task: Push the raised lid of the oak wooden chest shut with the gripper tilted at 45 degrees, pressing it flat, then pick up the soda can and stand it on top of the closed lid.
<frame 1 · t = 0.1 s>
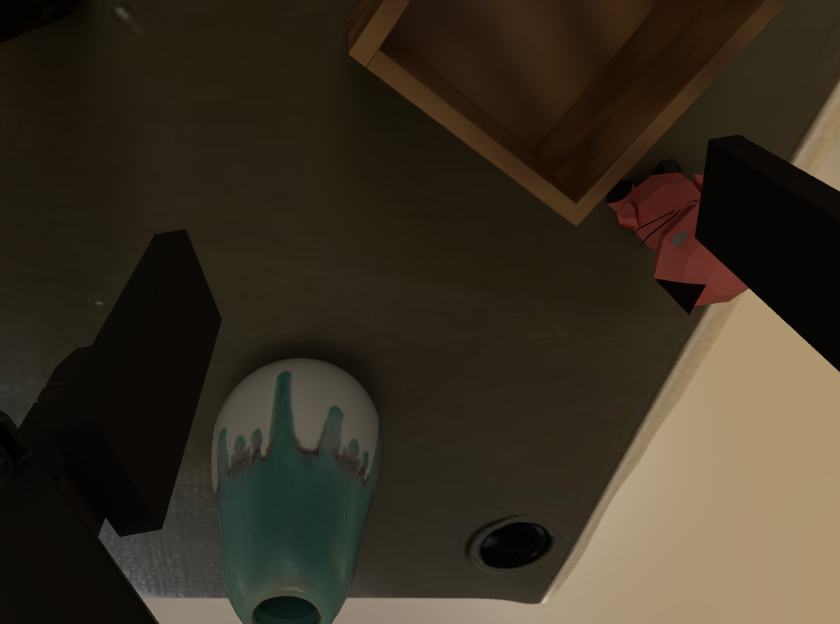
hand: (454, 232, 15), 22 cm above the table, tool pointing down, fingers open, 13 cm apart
vase: (302, 394, 46), on the table
cat figurine: (644, 195, 40), on the table
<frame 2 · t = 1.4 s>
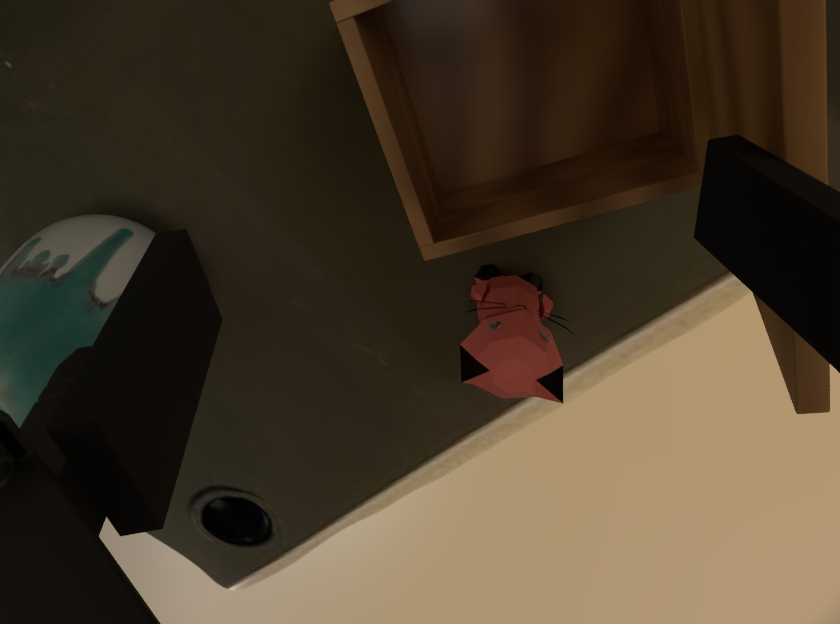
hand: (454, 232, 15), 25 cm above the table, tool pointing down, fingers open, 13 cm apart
vase: (137, 266, 47), on the table
chest lid: (741, 87, 20), point 18 cm above the table, hinge at 79.9°, touching gripper
cat figurine: (506, 290, 45), on the table
chest: (522, 67, 36), on the table
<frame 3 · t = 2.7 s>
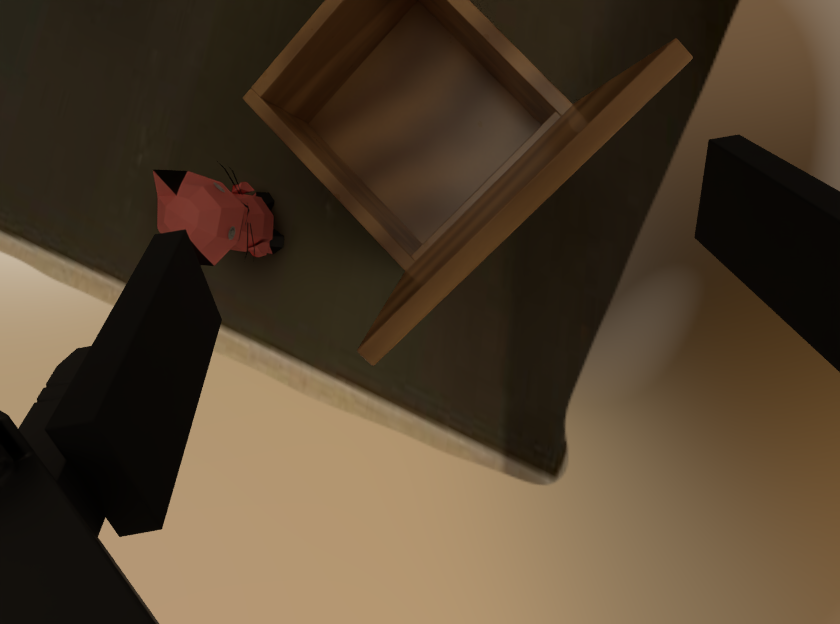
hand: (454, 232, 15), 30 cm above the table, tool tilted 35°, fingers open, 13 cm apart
chest lid: (498, 202, 27), point 18 cm above the table, hinge at 100.3°
cat figurine: (258, 225, 48), on the table
chest: (428, 132, 45), on the table
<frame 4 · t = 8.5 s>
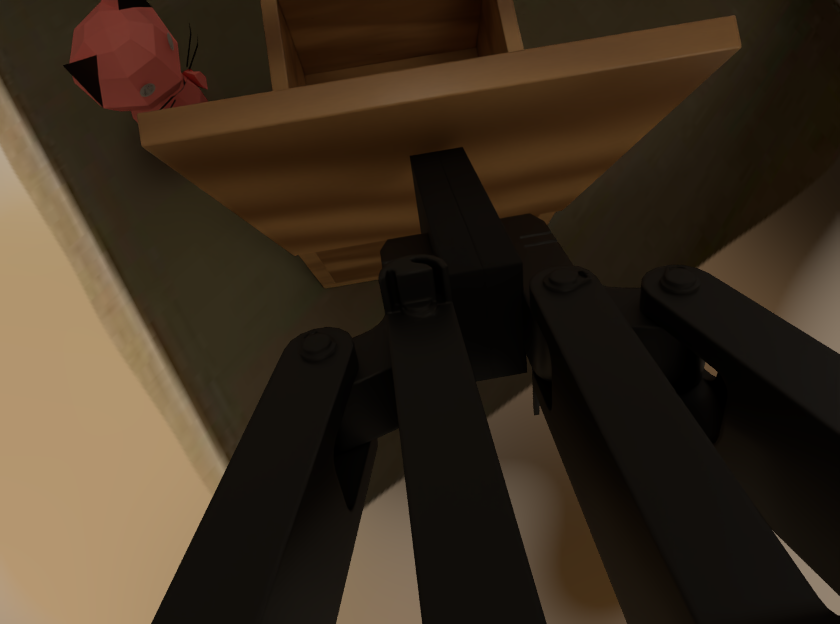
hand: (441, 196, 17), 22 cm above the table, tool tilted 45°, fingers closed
chest lid: (431, 180, 22), point 18 cm above the table, hinge at 97.5°
cat figurine: (186, 131, 42), on the table
chest: (408, 160, 41), on the table
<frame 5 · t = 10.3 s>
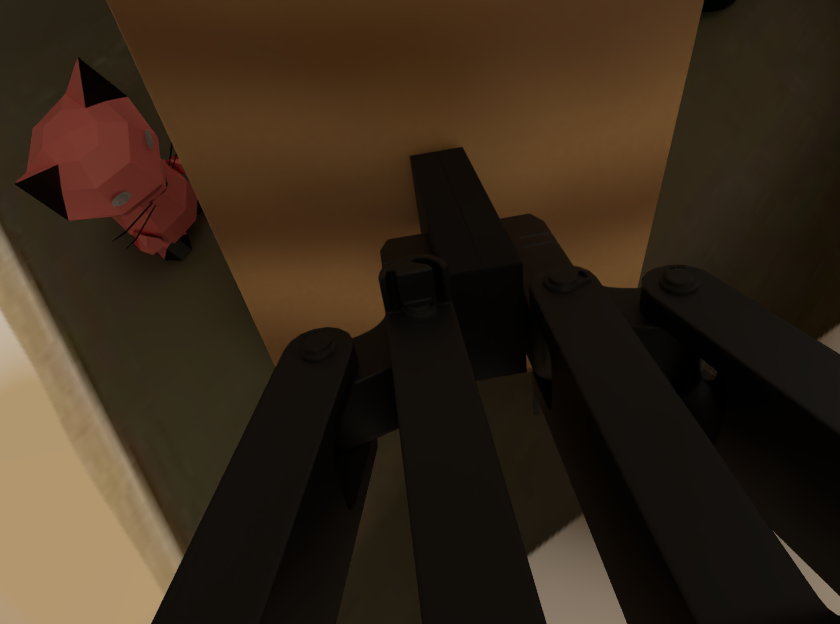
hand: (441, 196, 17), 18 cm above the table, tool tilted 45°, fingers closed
chest lid: (442, 214, 19), point 16 cm above the table, hinge at 57.3°, touching gripper
cat figurine: (172, 218, 36), on the table
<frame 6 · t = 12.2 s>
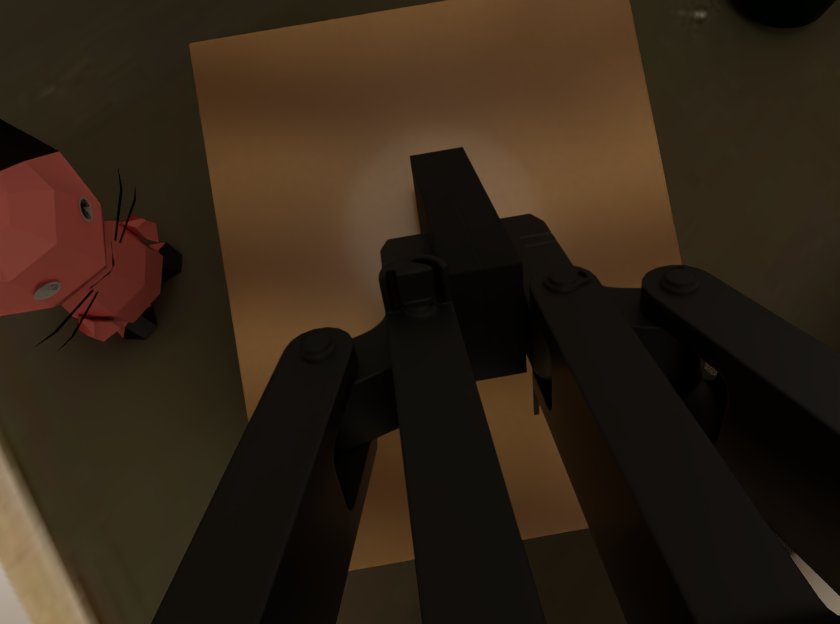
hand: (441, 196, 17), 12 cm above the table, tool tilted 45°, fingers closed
chest lid: (453, 270, 19), point 10 cm above the table, hinge at 7.3°, touching gripper
cat figurine: (134, 286, 30), on the table
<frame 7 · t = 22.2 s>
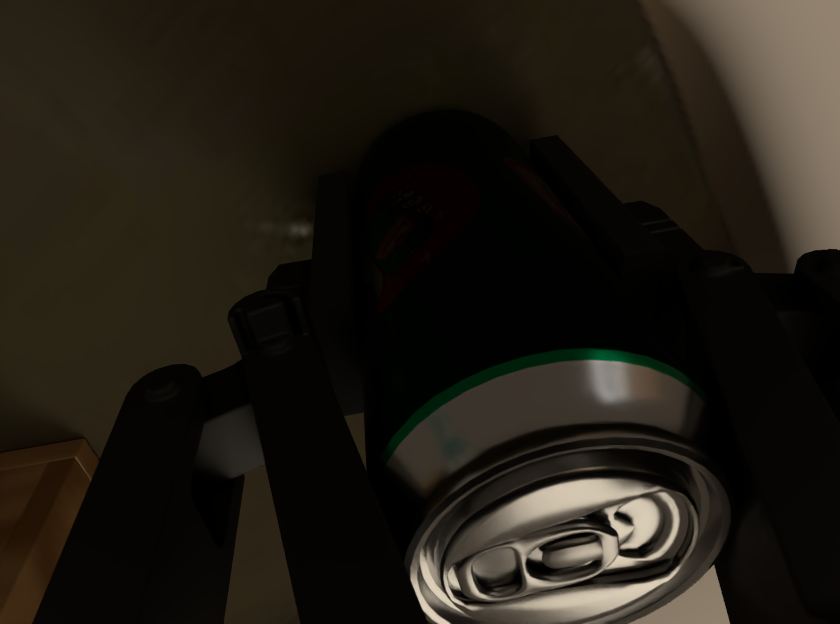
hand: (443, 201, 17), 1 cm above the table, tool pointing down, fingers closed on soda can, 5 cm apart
chest: (7, 593, 26), on the table
soda can: (439, 188, 18), on the table, touching gripper
when the fingers open (10 cm above the table, at t = 29.4 s): soda can stays where it is, resting on chest lid.
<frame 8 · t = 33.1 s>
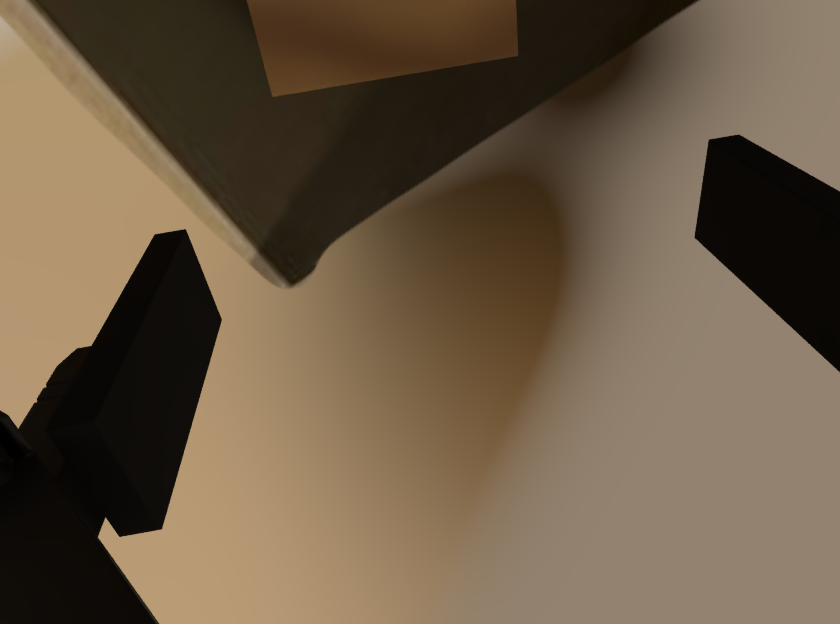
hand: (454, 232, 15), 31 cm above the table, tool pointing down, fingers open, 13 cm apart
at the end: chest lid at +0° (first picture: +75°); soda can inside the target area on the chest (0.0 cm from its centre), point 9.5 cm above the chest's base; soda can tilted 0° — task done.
